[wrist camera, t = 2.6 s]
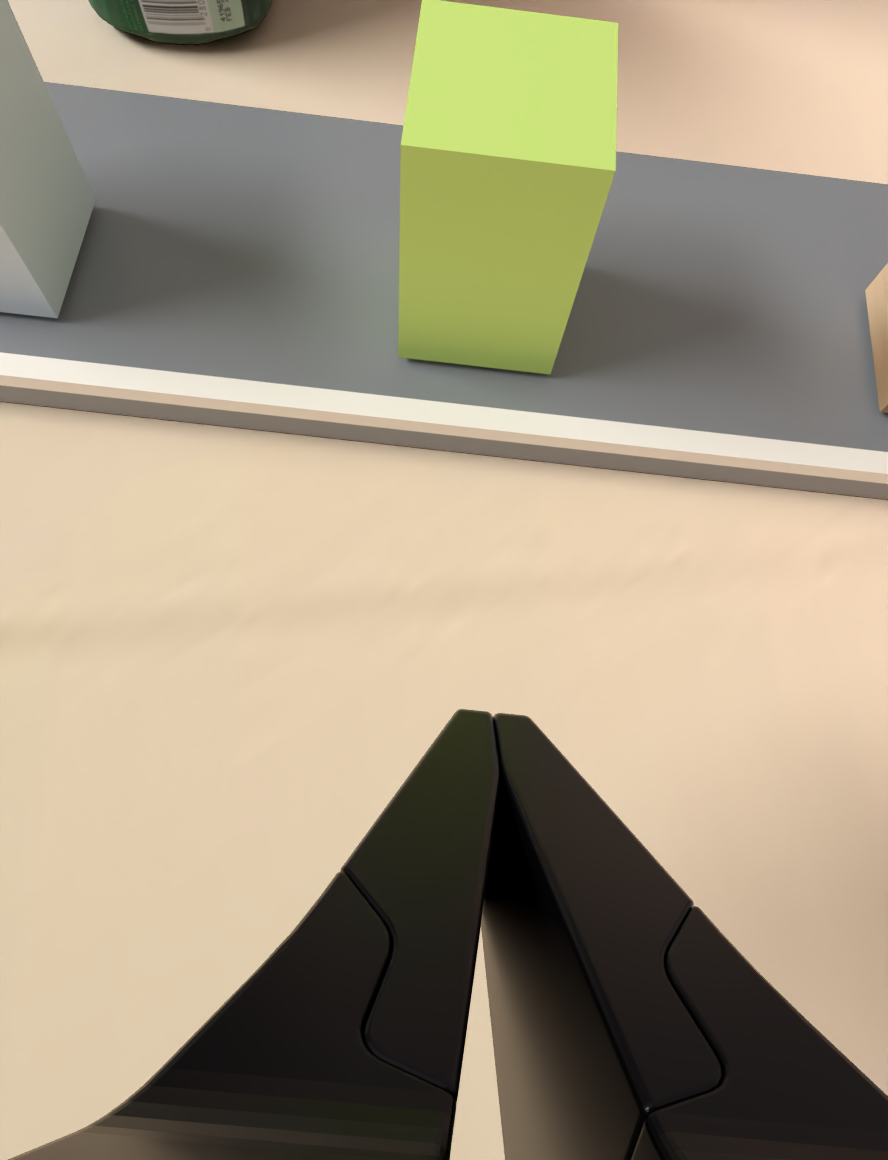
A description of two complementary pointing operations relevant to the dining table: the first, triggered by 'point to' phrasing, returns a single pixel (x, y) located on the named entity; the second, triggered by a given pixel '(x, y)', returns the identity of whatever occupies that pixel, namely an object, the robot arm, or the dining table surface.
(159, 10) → the coffee jar
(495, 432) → the slate board
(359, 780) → the dining table surface
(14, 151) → the blue-grey block
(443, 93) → the green block
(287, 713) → the dining table surface
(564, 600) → the dining table surface
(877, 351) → the brown wooden block
